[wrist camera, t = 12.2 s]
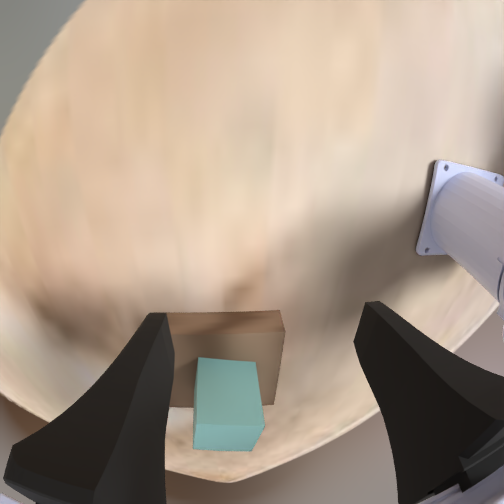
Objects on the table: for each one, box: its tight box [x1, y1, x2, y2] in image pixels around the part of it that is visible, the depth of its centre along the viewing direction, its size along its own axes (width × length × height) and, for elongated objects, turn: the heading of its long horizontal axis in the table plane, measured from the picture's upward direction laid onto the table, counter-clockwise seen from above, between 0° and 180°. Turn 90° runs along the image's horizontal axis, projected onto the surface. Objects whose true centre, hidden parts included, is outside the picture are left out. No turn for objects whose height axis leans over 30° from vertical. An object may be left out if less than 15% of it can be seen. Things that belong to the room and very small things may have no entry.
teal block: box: [193, 357, 265, 451], centre depth 21 cm, size 4×4×6 cm
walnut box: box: [167, 310, 285, 408], centre depth 24 cm, size 10×10×3 cm
